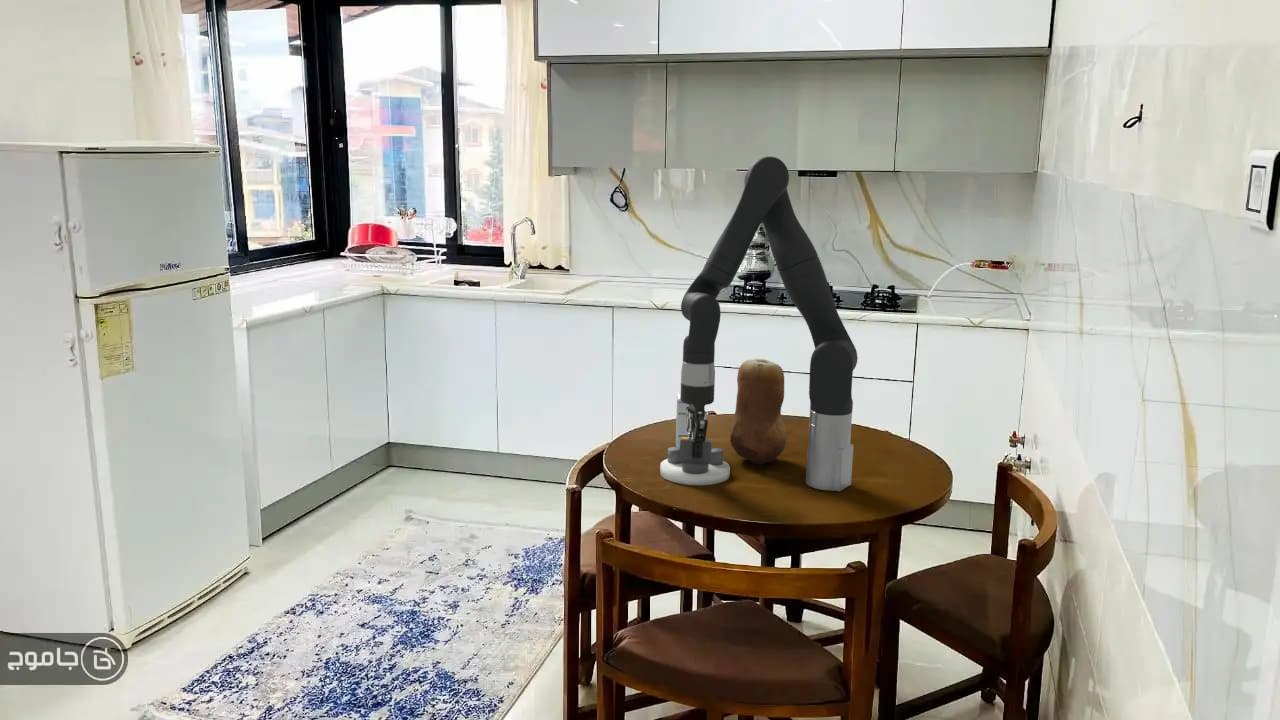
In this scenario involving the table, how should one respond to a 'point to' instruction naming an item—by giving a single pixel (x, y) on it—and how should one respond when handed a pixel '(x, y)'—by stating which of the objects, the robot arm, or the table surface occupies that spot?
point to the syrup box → (681, 420)
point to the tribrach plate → (715, 474)
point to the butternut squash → (759, 412)
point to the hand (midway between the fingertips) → (695, 455)
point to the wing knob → (692, 463)
